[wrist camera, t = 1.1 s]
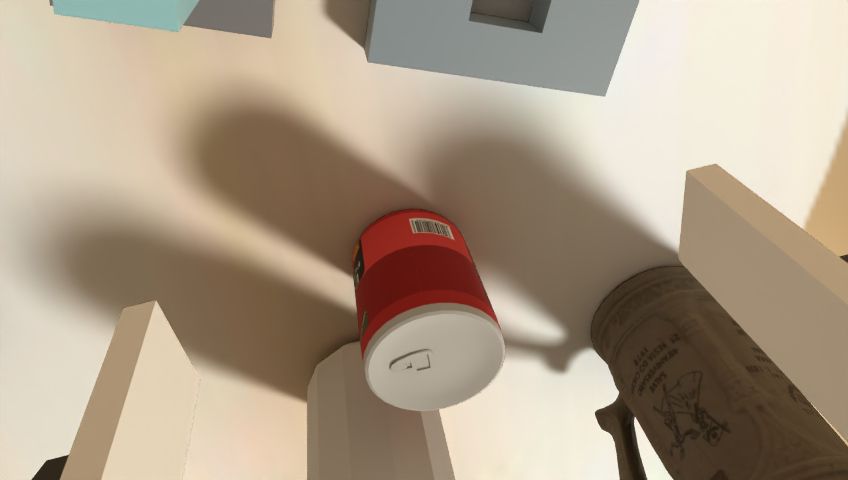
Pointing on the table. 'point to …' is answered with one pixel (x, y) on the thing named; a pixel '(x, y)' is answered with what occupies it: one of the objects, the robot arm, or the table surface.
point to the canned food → (423, 313)
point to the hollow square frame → (233, 16)
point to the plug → (130, 11)
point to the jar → (368, 429)
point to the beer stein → (703, 390)
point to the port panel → (504, 41)
